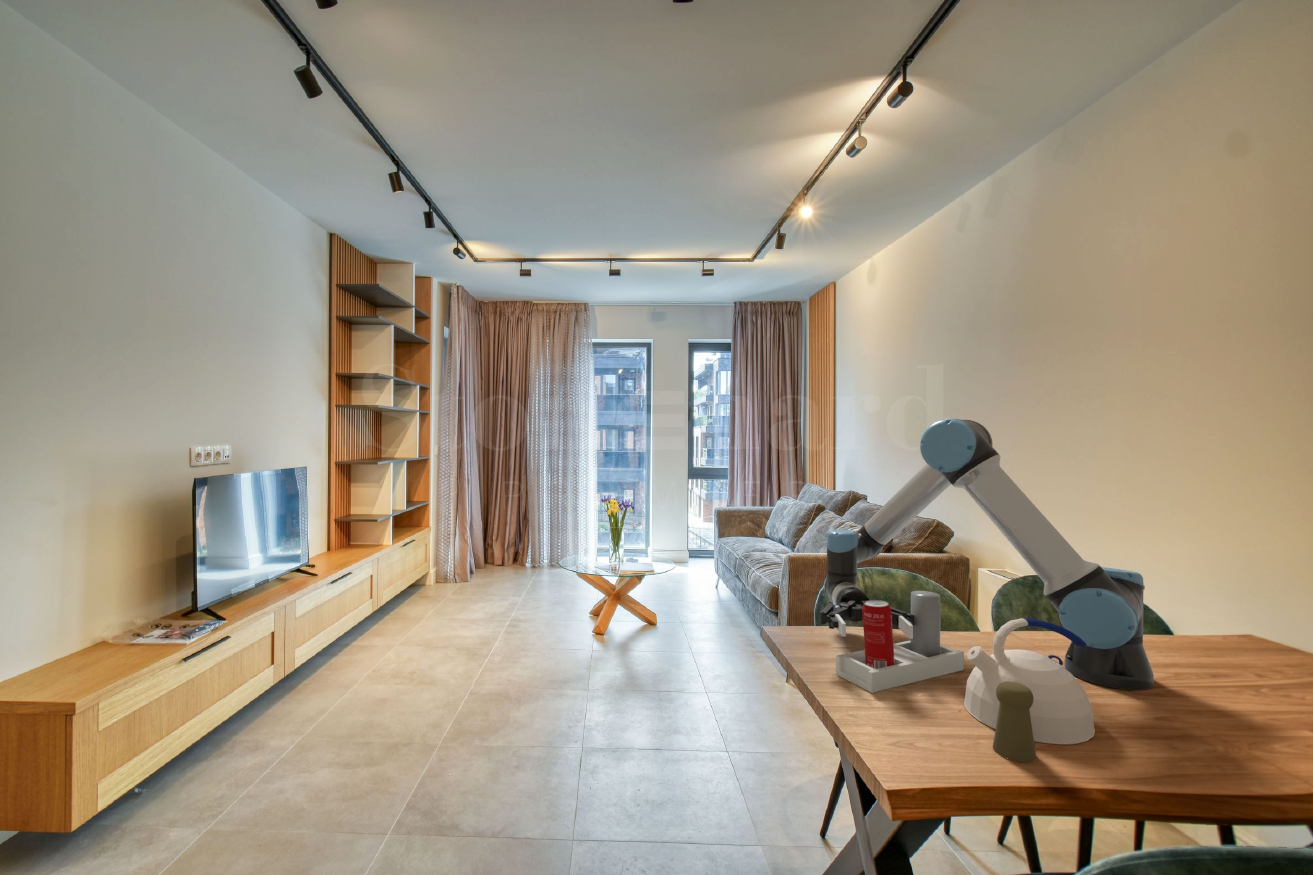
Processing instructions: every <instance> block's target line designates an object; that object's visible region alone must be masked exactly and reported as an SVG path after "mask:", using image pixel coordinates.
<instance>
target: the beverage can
mask: <svg viewBox="0 0 1313 875" xmlns="http://www.w3.org/2000/svg"><path fill="white" fill-rule="evenodd" d="M862 612H863V620H862V622H863V623H862V624H863V625H862V627H863V641H864V643H863V644H864V650H865V661H866V665H867V666H869V667H871V668H874V669H879V668H883V667H888V666H892V665H895V662H894V646H893V644H894V632H893V624H892V614H891V608H890V603H889V602H888V601H886V600H882V599H869V600H867V601H865V602H864V605H863V608H862Z"/></svg>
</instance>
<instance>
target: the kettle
mask: <svg viewBox="0 0 1313 875" xmlns="http://www.w3.org/2000/svg"><path fill="white" fill-rule="evenodd" d="M1021 627H1035V628H1042V629H1045V630H1049V631H1052V632H1054V633H1057V634H1059V635H1061V636H1063V637H1064V638H1066V639H1068V640H1070V642H1071V641H1072V642H1073V643H1074V644H1075V645H1077V646H1086V643H1085V642H1084V641H1083V640H1082V639H1081V638H1080V637H1078V636H1077V635H1075V634H1074V633H1073V632H1071V631H1069V630H1067V629H1065V628H1064V627H1063V626H1061V625H1057V624H1055V623H1053V622H1049V621H1045V620H1041V619H1036V618H1028V617H1027V618H1026V617H1022V618H1018V619H1012V620H1009V621H1008V622H1005V624H1002V625H1001V626H1000V628H999V629H998V630H997V632H995V634H994V637H993V640H992V654H988V653H987V652H986V651H985V650H984V649H983V648H982V646H978V645H976V646H975V645H973V646H972V647H971V648H969V650H968V651H967V653H966V658H967V661H968V662H971V663H972V664H973V665H974V666H975V667H973V669H972V671H971V673H970V674H969V676H968V678H967V680H966V686H965V694H964V700H963V702H964V704H963V705H964V707H965V709H966V711H967V712H968V713H969V715H971V716H972V717H973V718H975V719H976V720H977V721H979V722H980V723H982V724H984V725H986V726H987V727H989V728H991V729H993V730H995V729H996V723H997V717H998V711H999V705H1000V702H999V700H998V699H997V695H996V688H997V686H998V685H999V683H1001V682H1005V681H1011V682H1017V683H1020V684H1023V685H1025V686H1027V687H1028V688H1029V689H1030V690H1031V692H1032V694H1033V697H1034V700H1033V704H1032V706H1031V707H1030V708H1029V710H1030V717H1031V724H1032V731H1033V738H1034V743H1035V742H1036V743H1041V744H1042V743H1043V744H1049V745H1061V746H1062V745H1077V744H1081V743H1085V742H1088V741H1089V740H1091V739H1092V738H1093V737H1094V736H1095V732H1096V729H1095V723H1094V722H1095V721H1094V714H1093V713H1094V712H1093V706H1092V703H1091V702H1090V699H1089V697H1088V695H1087V692H1086V691H1085V689H1084V687H1083V686H1082V685H1081V683H1080V682H1079V681H1078V679H1077V678H1076V676H1074V675H1072V674H1071V673H1070V672H1069V671H1067V670H1066V669H1065V666H1063V665H1064V661H1063V660H1062V658H1060V656H1057V655H1053V654H1050V655H1048V656H1045V655H1043V654H1040V653H1038V652H1036V651H1032V650H1028V649H1005V644H1006V640H1007V637H1008V636H1010V634H1011V633H1012V632H1013V631H1015V630H1017V629H1018V628H1021ZM1055 659H1057V660H1058V662H1057V661H1056V660H1055Z"/></svg>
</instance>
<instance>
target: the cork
mask: <svg viewBox="0 0 1313 875" xmlns="http://www.w3.org/2000/svg"><path fill="white" fill-rule="evenodd" d="M996 695H997V699H998V700H999V702H1000V705H999V711H998V717H997V723H996V729H994V731H995V732H994V738H993V743H992V750H993V751H994V752H995V753H996V754H997V753H998V754H997V755H999V756H1000V755H1001V756H1000V757H1002V756H1003V757H1002V758H1004V757H1006V758H1008V759H1007V760H1009V759H1010V760H1009V761H1014V762H1019V763H1026V764H1027V763H1033V762H1035V761H1036V759H1037V754H1036V747H1035V741H1034V738H1033V731H1032V724H1031V717H1030V710H1029V708H1030V707H1031V706H1032V704H1033V700H1034V697H1033V694H1032V692H1031V690H1030V689H1029V688H1028V687H1027V686H1025V685H1023V684H1020V683H1017V682H1011V681H1005V682H1001V683H999V685H998V686H997V688H996ZM1006 758H1005V759H1006Z"/></svg>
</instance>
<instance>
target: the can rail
mask: <svg viewBox="0 0 1313 875" xmlns="http://www.w3.org/2000/svg"><path fill="white" fill-rule="evenodd" d="M941 599H942V598H941V594H939V593H936V592H934V591H926V590H914V591H911V592H910V614H912V615H914V627H913V639H910V640H906V641H905V640H904V641H900V642H896V643H893V646H894V662H895V665H892V666H888V667H883V668H879V669H874V668H871V667H869V666H867V665H866V661H865V649H862V650H857V651H852V652H851V651H850V652H848V653H842V654H837V655H835V658H836V659H835V663H836V664H835V674H836V675H837V676H839V677H841V678H842V679H845V680H847V681H848V682H850V683H852V684H854V685H856V686H858V687H860V688H862V689H863V690H865V691H867V692H868V693H871V694H873V693H876V692H881V691H885V690H889V689H893V688H897V687H901V686H904V685H909V684H913V683H917V682H922V681H925V680H929V679H933V678H937V677H942V676H946V675H949V674H953V673H957V672H961V671H964V669H965V667H964V666H965V665H964V663H965V661H964V660H965V659H964V658H965V654H964V653H965V652H964V651H963V650H956V649H952V648H950V647H947V646H945V645H942V644H941V603H942V602H941Z"/></svg>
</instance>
